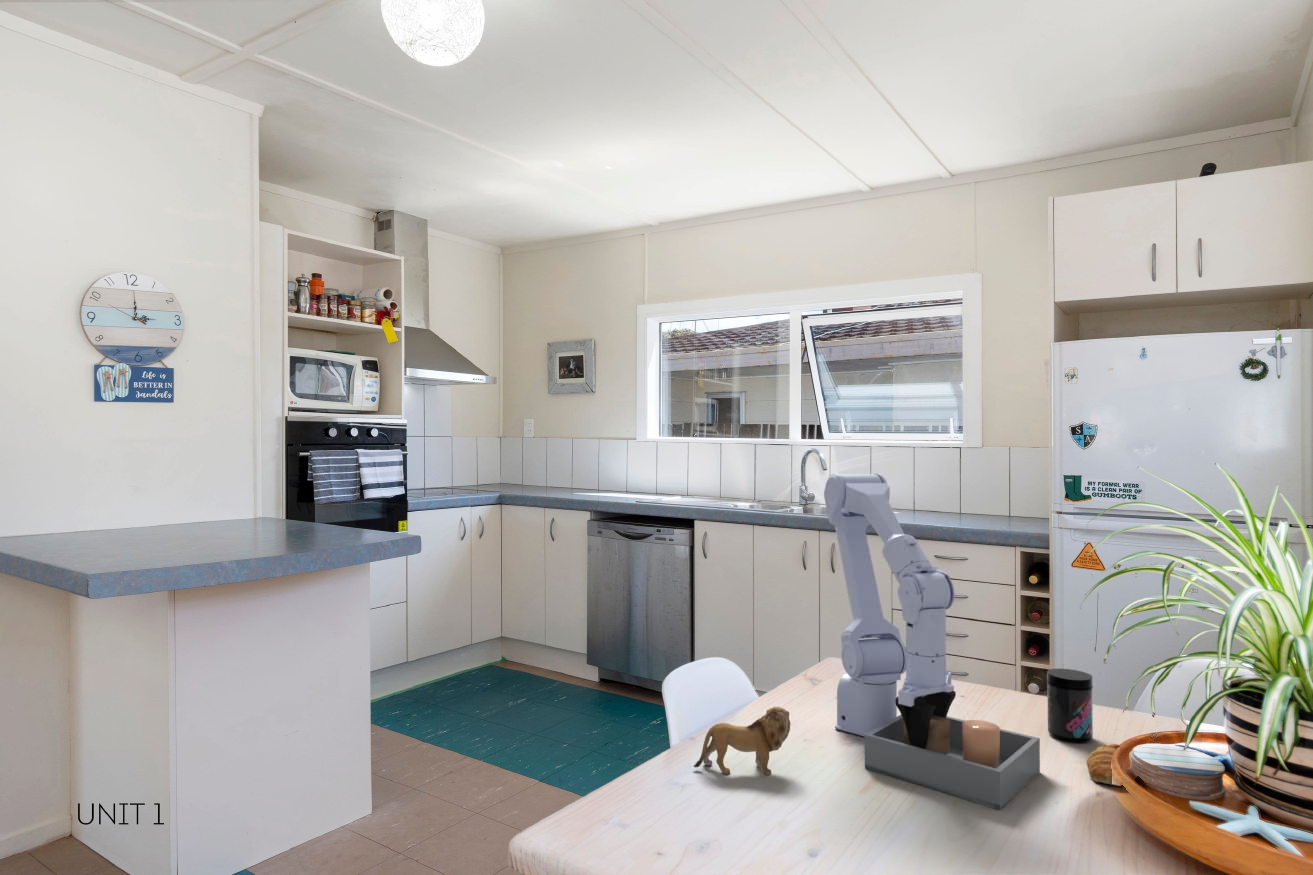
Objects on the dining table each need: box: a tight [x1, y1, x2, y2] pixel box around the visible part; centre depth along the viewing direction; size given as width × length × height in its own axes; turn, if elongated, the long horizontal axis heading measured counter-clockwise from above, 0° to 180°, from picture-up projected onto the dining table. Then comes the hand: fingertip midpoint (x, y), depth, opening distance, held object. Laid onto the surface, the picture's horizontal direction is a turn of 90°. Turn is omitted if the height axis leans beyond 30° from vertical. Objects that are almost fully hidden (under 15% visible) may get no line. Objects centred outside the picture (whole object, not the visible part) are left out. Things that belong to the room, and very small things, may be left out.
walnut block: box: [904, 715, 950, 755], centre depth 117 cm, size 5×5×5 cm
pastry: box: [1086, 743, 1121, 786], centre depth 113 cm, size 9×7×4 cm
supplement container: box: [1046, 668, 1094, 744], centre depth 129 cm, size 7×7×10 cm
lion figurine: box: [693, 706, 791, 776], centre depth 115 cm, size 15×5×9 cm, turn 96°
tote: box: [864, 714, 1041, 811], centre depth 115 cm, size 20×17×5 cm
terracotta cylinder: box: [962, 719, 1001, 768], centre depth 112 cm, size 5×5×7 cm
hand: (926, 742), depth 117 cm, fingers closed on walnut block, 5 cm apart
